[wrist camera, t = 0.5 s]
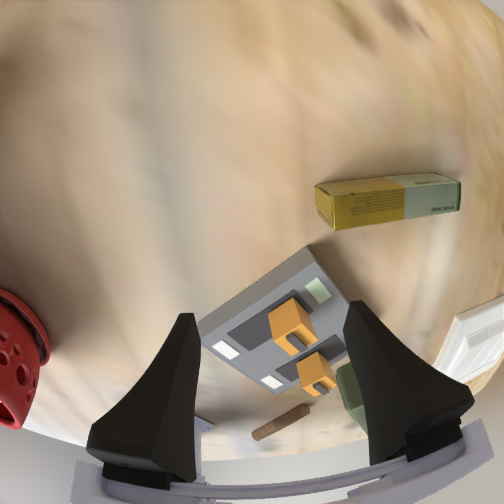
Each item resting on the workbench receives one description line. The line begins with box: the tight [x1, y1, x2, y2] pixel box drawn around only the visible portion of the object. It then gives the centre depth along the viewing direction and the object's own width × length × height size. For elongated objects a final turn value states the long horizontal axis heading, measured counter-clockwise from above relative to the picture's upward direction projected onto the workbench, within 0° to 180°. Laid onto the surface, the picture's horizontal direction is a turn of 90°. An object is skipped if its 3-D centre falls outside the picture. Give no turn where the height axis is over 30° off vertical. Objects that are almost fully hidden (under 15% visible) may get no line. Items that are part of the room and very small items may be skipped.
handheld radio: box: [336, 362, 368, 435], centre depth 34 cm, size 7×3×25 cm
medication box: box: [314, 173, 461, 231], centre depth 20 cm, size 12×3×4 cm, turn 99°
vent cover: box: [433, 295, 504, 384], centre depth 34 cm, size 23×3×21 cm
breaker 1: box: [268, 298, 318, 356], centre depth 21 cm, size 2×2×3 cm
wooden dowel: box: [252, 404, 310, 441], centre depth 35 cm, size 10×2×2 cm
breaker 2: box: [296, 352, 337, 397], centre depth 24 cm, size 2×2×3 cm
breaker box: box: [198, 246, 350, 395], centre depth 25 cm, size 12×12×3 cm
